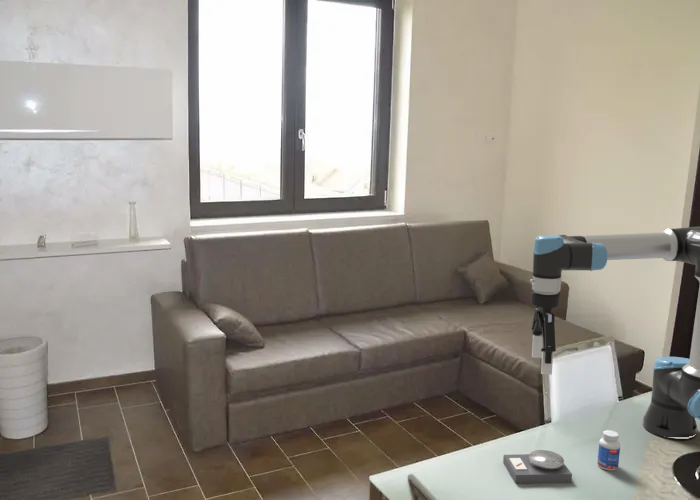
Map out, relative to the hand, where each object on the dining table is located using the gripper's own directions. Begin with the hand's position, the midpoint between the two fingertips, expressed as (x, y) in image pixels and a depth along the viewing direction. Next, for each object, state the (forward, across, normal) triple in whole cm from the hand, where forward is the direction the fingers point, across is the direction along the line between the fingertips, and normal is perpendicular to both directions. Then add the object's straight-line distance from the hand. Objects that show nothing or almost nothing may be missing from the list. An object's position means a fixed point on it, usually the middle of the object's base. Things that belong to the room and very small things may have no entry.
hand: (541, 365), depth 178 cm
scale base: (+26, +11, -2) cm, 29 cm away
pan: (+23, +11, +1) cm, 26 cm away
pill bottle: (+27, +5, +18) cm, 33 cm away
